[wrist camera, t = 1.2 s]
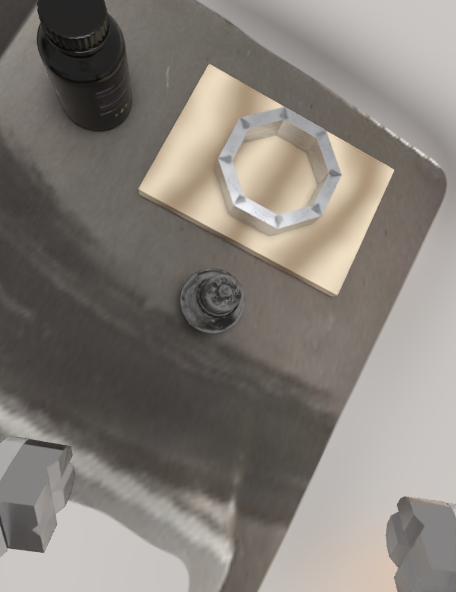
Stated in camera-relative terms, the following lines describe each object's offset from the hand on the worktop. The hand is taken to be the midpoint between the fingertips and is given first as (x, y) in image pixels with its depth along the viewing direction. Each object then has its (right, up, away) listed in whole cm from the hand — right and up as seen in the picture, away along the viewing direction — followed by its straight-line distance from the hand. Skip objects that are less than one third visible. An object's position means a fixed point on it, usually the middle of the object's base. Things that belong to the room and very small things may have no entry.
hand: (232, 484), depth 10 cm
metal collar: (+4, +16, +31) cm, 36 cm away
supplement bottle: (-13, +24, +31) cm, 42 cm away
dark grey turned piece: (-2, +4, +31) cm, 31 cm away
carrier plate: (+4, +16, +33) cm, 37 cm away
